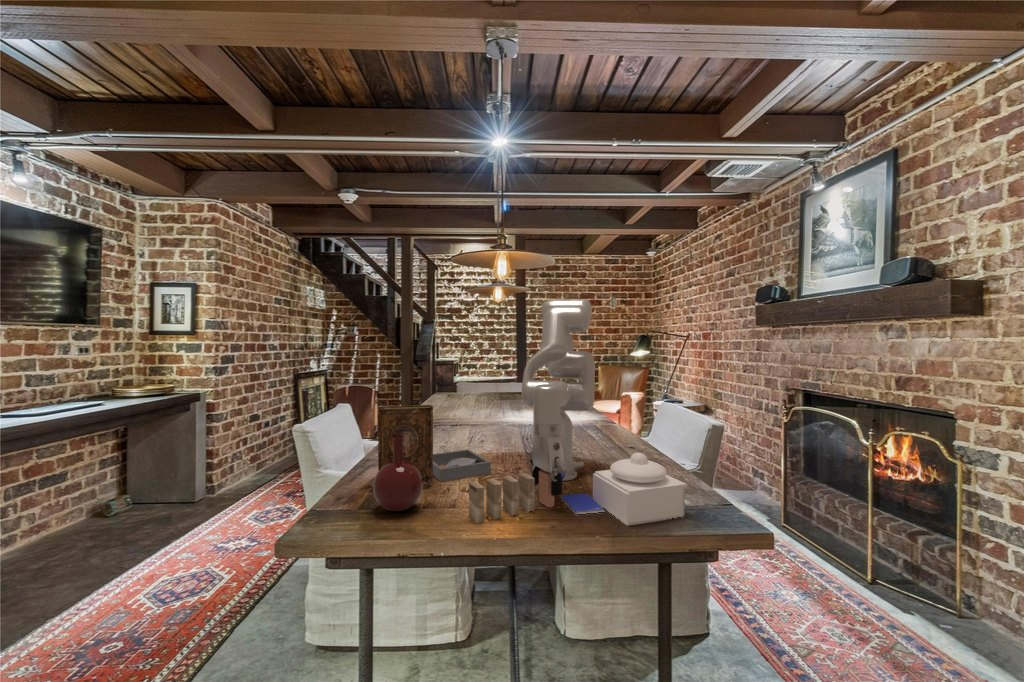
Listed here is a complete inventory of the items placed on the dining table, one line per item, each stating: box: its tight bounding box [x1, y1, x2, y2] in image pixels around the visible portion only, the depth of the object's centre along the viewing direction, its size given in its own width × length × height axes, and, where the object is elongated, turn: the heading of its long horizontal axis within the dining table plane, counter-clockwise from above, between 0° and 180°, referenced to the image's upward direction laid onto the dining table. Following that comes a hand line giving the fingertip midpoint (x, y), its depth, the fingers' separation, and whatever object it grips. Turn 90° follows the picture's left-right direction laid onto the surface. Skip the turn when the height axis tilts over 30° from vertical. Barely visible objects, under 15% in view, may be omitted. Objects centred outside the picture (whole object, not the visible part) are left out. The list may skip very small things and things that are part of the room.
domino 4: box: [518, 472, 536, 513], centre depth 126 cm, size 2×5×9 cm, turn 29°
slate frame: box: [433, 449, 492, 483], centre depth 161 cm, size 18×19×4 cm
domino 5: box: [538, 469, 555, 508], centre depth 130 cm, size 2×5×9 cm, turn 28°
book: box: [377, 404, 434, 489], centre depth 144 cm, size 16×6×25 cm, turn 102°
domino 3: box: [502, 475, 519, 517], centre depth 124 cm, size 2×5×9 cm, turn 28°
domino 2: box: [485, 478, 503, 521], centre depth 122 cm, size 2×5×9 cm, turn 29°
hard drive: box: [560, 493, 606, 515], centre depth 129 cm, size 2×8×12 cm
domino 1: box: [468, 481, 485, 525], centre depth 119 cm, size 2×5×9 cm, turn 29°
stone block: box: [444, 458, 476, 468], centre depth 161 cm, size 12×5×10 cm
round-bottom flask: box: [372, 435, 424, 512], centre depth 126 cm, size 13×13×20 cm
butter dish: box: [592, 452, 688, 527], centre depth 126 cm, size 18×18×16 cm
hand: (546, 489), depth 130 cm, fingers open, 9 cm apart
